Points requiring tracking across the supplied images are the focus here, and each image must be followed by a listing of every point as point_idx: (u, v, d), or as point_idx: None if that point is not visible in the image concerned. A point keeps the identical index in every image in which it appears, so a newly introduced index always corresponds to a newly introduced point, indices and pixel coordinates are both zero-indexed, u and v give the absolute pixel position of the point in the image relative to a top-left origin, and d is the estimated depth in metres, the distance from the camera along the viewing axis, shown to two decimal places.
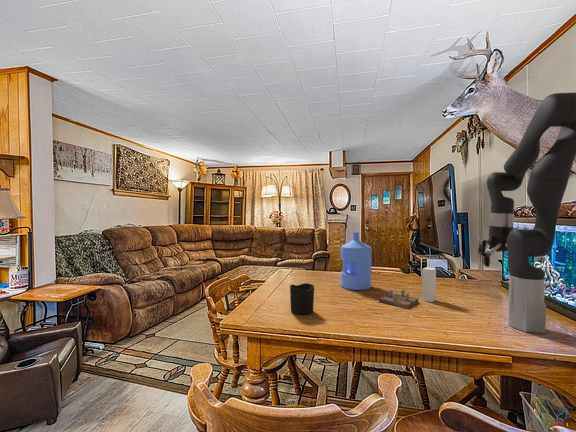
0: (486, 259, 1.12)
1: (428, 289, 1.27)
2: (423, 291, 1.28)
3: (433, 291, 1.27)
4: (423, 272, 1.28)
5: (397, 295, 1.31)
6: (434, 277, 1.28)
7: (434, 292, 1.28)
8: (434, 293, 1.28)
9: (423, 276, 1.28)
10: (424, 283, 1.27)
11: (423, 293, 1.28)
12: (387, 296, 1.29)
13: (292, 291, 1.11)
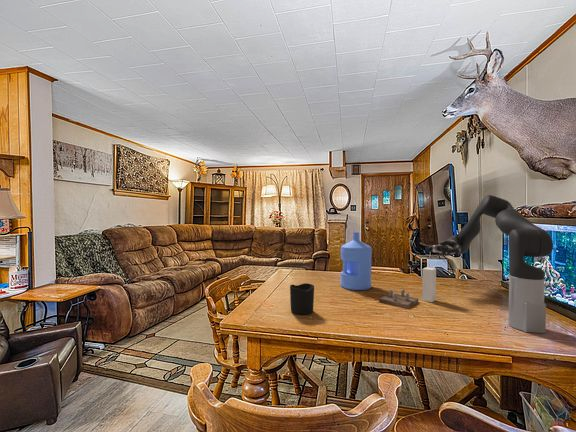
0: None
1: (428, 289, 1.27)
2: (423, 291, 1.28)
3: (433, 291, 1.27)
4: (423, 272, 1.28)
5: (397, 295, 1.31)
6: (434, 277, 1.28)
7: (434, 292, 1.28)
8: (434, 293, 1.28)
9: (423, 276, 1.28)
10: (425, 283, 1.27)
11: (423, 293, 1.28)
12: (387, 296, 1.29)
13: (292, 291, 1.11)
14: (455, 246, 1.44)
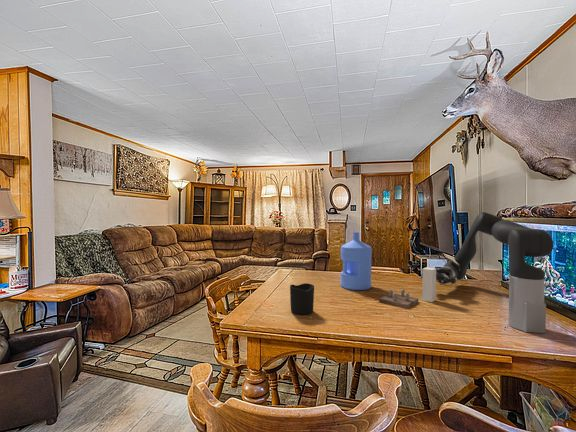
0: None
1: (428, 289, 1.27)
2: (423, 291, 1.28)
3: (433, 291, 1.27)
4: (423, 272, 1.28)
5: (397, 295, 1.31)
6: (434, 277, 1.28)
7: (434, 292, 1.28)
8: (434, 293, 1.28)
9: (423, 276, 1.28)
10: (424, 283, 1.27)
11: (423, 293, 1.28)
12: (387, 296, 1.29)
13: (292, 291, 1.11)
14: (451, 274, 1.40)
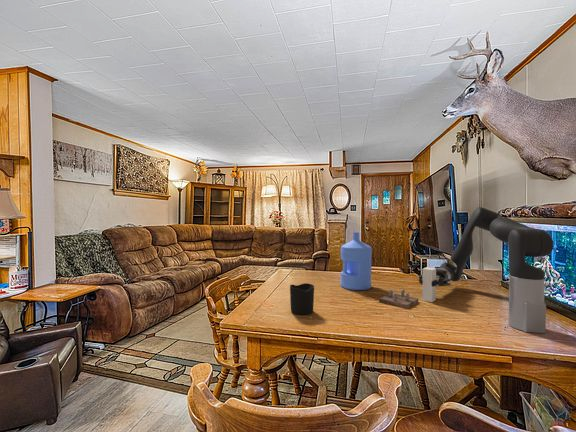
0: None
1: (428, 289, 1.27)
2: (423, 291, 1.28)
3: (433, 291, 1.27)
4: (423, 272, 1.28)
5: (397, 295, 1.31)
6: (434, 277, 1.28)
7: (434, 292, 1.28)
8: (434, 293, 1.28)
9: (423, 276, 1.28)
10: (425, 283, 1.27)
11: (423, 293, 1.28)
12: (387, 296, 1.29)
13: (292, 291, 1.11)
14: (446, 276, 1.35)
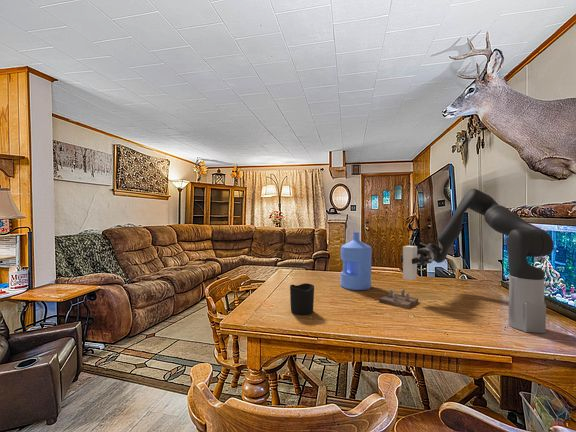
0: None
1: (408, 267, 1.25)
2: (404, 269, 1.26)
3: (414, 269, 1.25)
4: (404, 250, 1.26)
5: (397, 295, 1.31)
6: (415, 255, 1.26)
7: (415, 270, 1.26)
8: (415, 271, 1.26)
9: (404, 254, 1.26)
10: (405, 261, 1.26)
11: (404, 271, 1.27)
12: (387, 296, 1.29)
13: (292, 291, 1.11)
14: (429, 255, 1.33)
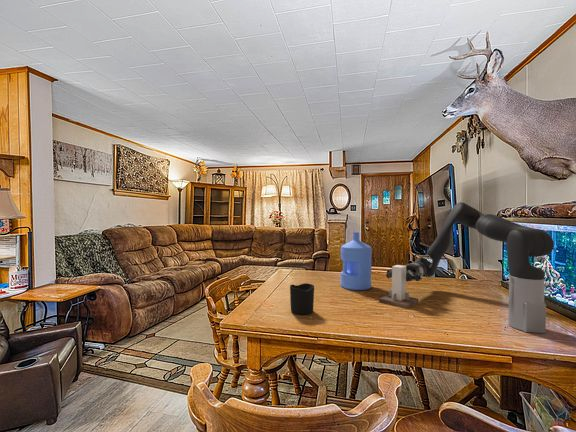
0: (389, 272, 1.30)
1: (397, 287, 1.24)
2: (393, 289, 1.25)
3: (403, 289, 1.24)
4: (393, 270, 1.25)
5: None
6: (404, 275, 1.25)
7: (404, 290, 1.25)
8: (404, 291, 1.25)
9: (393, 274, 1.25)
10: (394, 281, 1.25)
11: (393, 291, 1.25)
12: (387, 296, 1.29)
13: (292, 291, 1.11)
14: (418, 271, 1.32)
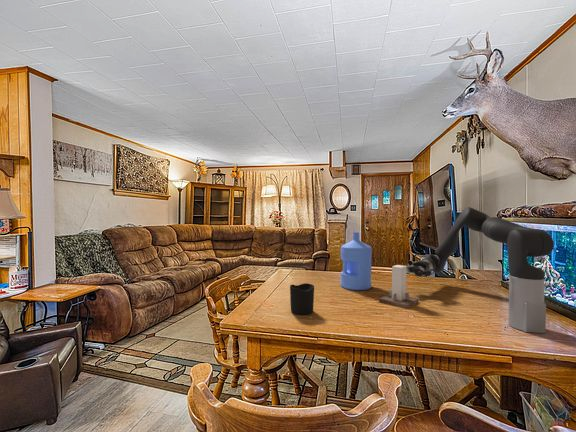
0: None
1: (397, 287, 1.24)
2: (393, 289, 1.25)
3: (403, 289, 1.24)
4: (393, 270, 1.25)
5: None
6: (404, 275, 1.25)
7: (404, 290, 1.25)
8: (404, 291, 1.25)
9: (393, 274, 1.25)
10: (394, 281, 1.25)
11: (393, 291, 1.25)
12: (387, 296, 1.29)
13: (292, 291, 1.11)
14: (428, 267, 1.41)
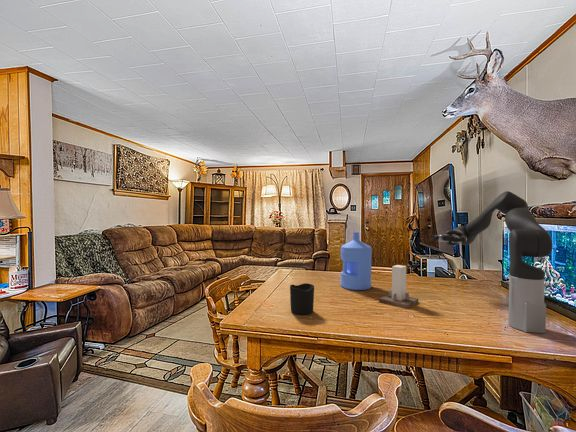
0: (435, 236, 1.41)
1: (397, 287, 1.24)
2: (393, 289, 1.25)
3: (403, 289, 1.24)
4: (393, 270, 1.25)
5: None
6: (404, 275, 1.25)
7: (404, 290, 1.25)
8: (404, 291, 1.25)
9: (393, 274, 1.25)
10: (394, 281, 1.25)
11: (393, 291, 1.25)
12: (387, 296, 1.29)
13: (292, 291, 1.11)
14: (461, 236, 1.44)
